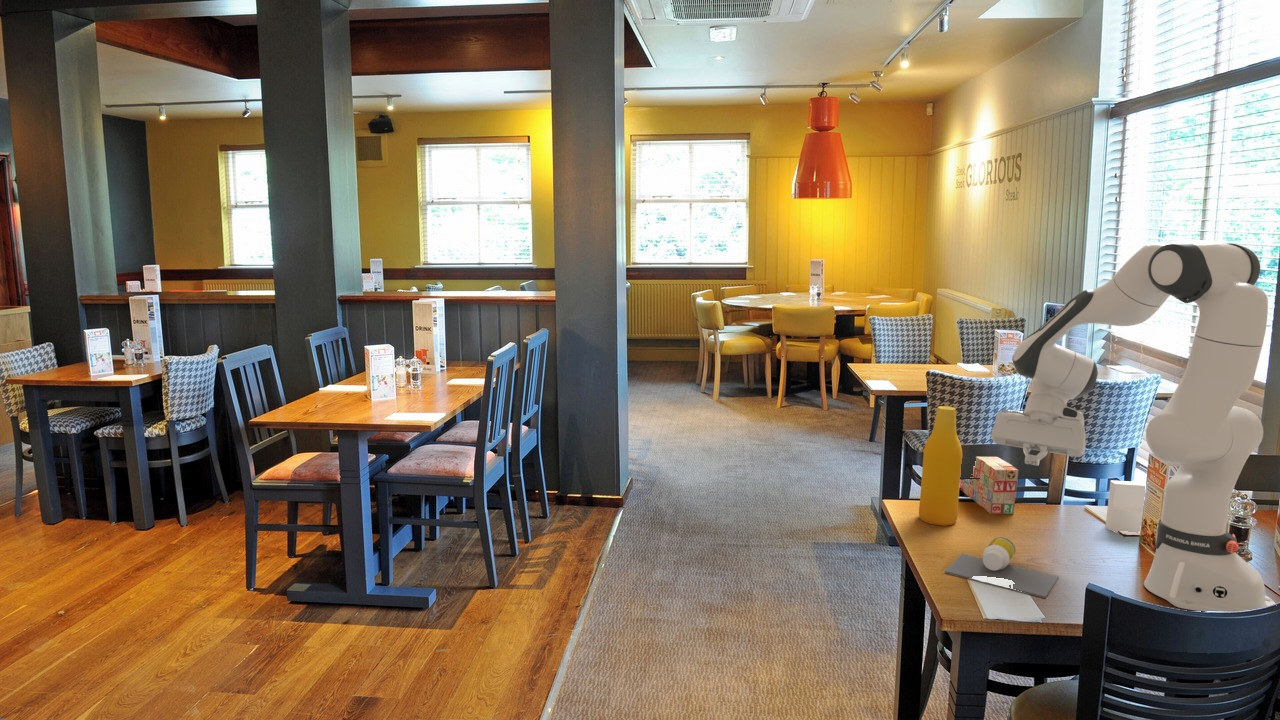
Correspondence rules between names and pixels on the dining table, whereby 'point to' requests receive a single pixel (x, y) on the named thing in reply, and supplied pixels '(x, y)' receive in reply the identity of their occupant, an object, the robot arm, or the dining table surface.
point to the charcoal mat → (1005, 575)
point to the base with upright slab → (1125, 506)
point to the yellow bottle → (941, 471)
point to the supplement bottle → (998, 553)
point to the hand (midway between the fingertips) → (1031, 463)
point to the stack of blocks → (992, 485)
